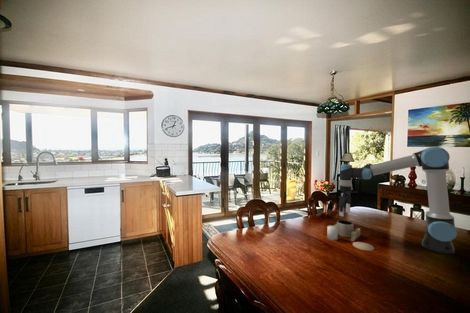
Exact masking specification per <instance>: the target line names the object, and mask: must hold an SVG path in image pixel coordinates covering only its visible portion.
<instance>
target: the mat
mask: <svg viewBox="0 0 470 313" xmlns="http://www.w3.org/2000/svg"><path fill="white" fill-rule="evenodd" d="M352 246H353V247H354V248H355V249H357V250H360V251H365V252H366V251H367V252H368V251H369V252H372V251H374V250H375V247H374V246H373V245H372V244H370V243H367V242H362V241H353V242H352Z"/></svg>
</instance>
